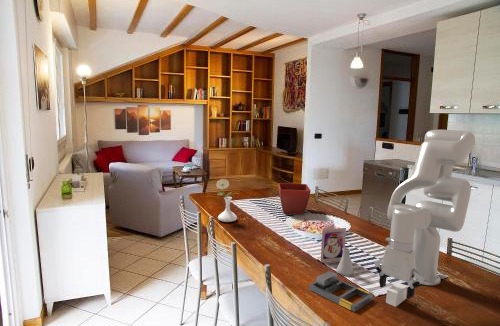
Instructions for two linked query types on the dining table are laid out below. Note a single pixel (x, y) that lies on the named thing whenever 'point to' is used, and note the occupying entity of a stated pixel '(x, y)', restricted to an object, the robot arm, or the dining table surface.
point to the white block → (396, 294)
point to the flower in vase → (227, 214)
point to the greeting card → (332, 243)
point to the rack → (330, 284)
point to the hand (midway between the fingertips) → (395, 291)
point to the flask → (345, 264)
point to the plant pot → (294, 197)
